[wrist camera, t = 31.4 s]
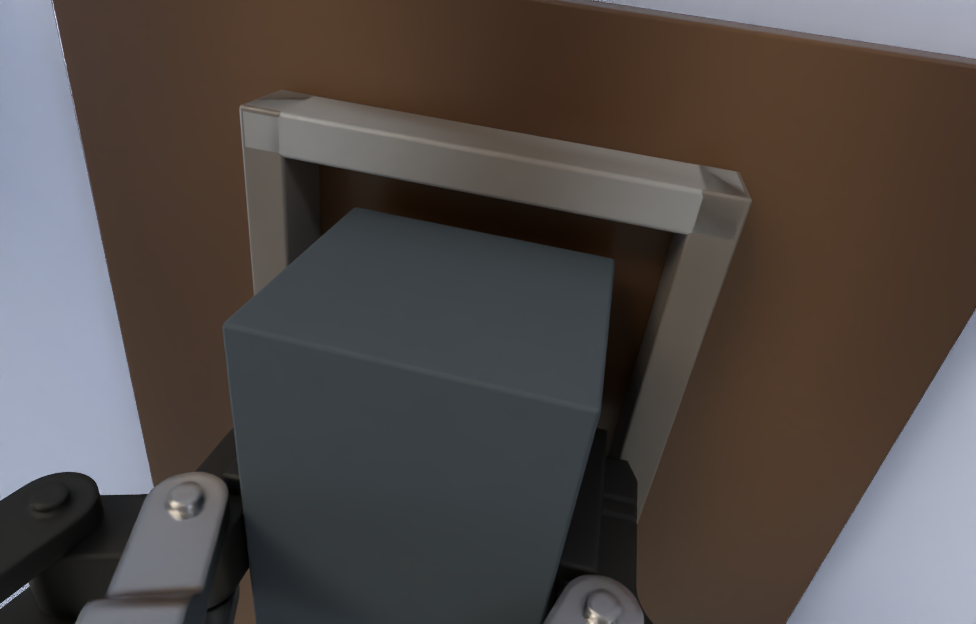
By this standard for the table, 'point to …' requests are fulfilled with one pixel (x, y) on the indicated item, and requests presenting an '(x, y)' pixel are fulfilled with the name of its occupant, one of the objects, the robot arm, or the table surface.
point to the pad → (415, 422)
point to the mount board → (564, 229)
